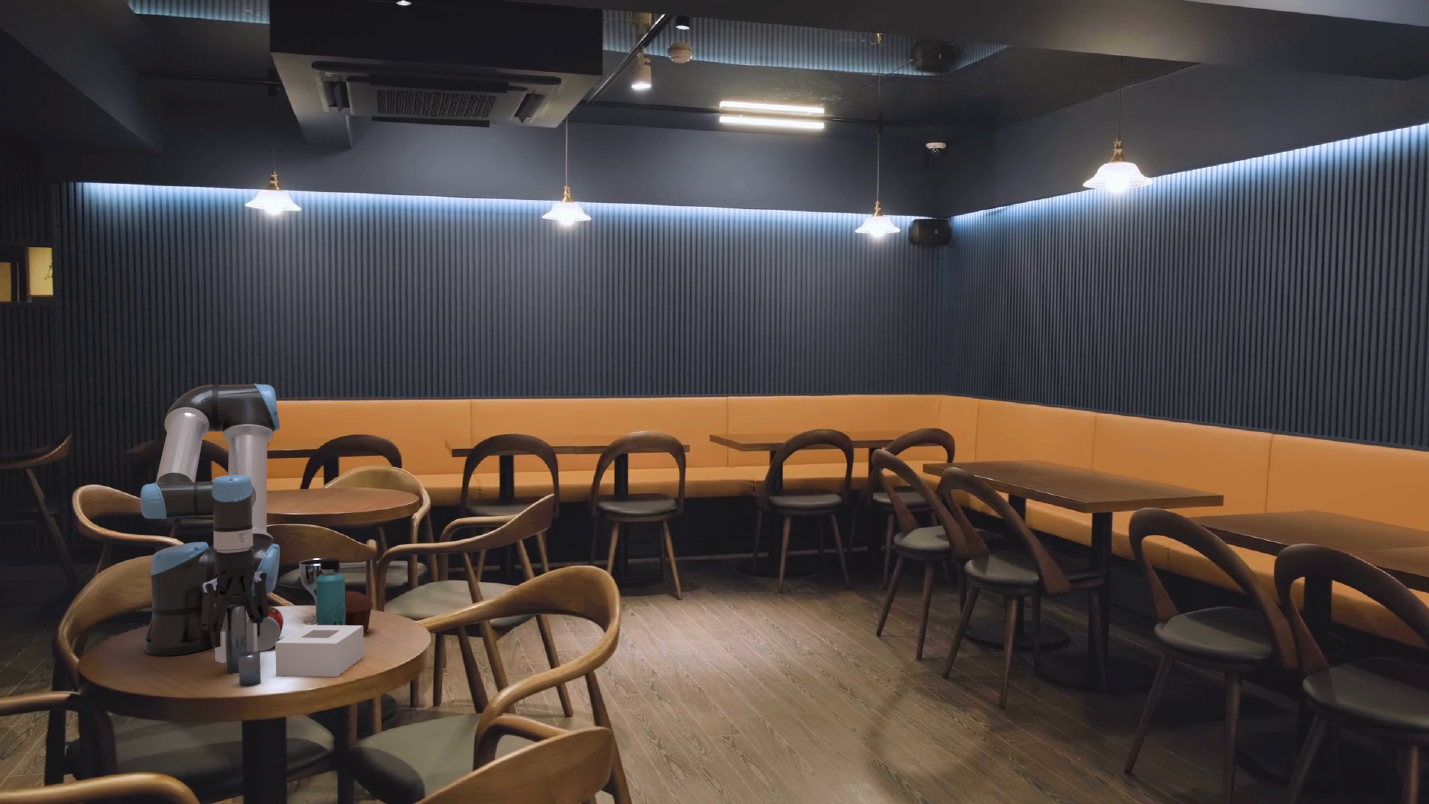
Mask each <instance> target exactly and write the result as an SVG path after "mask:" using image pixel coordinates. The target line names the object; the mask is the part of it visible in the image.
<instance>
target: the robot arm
mask: <svg viewBox="0 0 1429 804" xmlns="http://www.w3.org/2000/svg"><path fill="white" fill-rule="evenodd" d="M276 397H277V396H276V392H275V388H274V387H273V386H271V385H270V384H257V383H252V384H205V385H201V386H197V387H194V388H192V389H190V390H189V391H187V392H186V393H183V395H181V396H180V397H179V398H177V399H176V401H175V402H173V404H172V405H171V406H170V408H168V411H167V413H166V415H165V419H164V429H165V431H166V436H165V440H164V441H165V442H164V445H163V449H162V455H161V457H160V458H161V459H160V463H159V466H158V467H159V468H158V472H157V476H156V480H155V482H153V483H148V484H145V485H143V486H142V488H141V490H140V491H141V492H140V511H141V514H142V516H143V517H144V518H145V519H156V520H157V519H161V520H165V519H177V518H178V519H179V518H181V519H182V518H192V517H193V518H195V517H213V548H210V547H209V545H208V543H207V542H205V541H200V542H199V541H196V542H188V543H183V544H178V545H173V546H169V547H166V548H163V549H161V550H159V551H157V552H155V553H154V554H153V556H152V558H151V565H150V568H151V569H150V573H149V574H150V578H151V603H152V604H151V606H152V615H151V616H152V617H151V620H150V623H149V625H148V629H147V633H146V635H145V640H144V652H145V654H148V655H152V656H166V657H167V656H181V655H187V654H194V653H197V652H198V653H199V652H202V651H206V650H209V649H211V648H214V659H215V660H214V661H215V662H218V663H221V664H225V663H226V631H225V630H223V629H222V628H223V626H224V623H225V615H226V612H227V608H228V605H229V604H230V602H231V600H232V598H241V600H242V603H243V604H246V615H247V616H248V620H249V619H250V621H251V622H248V621H246V635H247V652H259V651H258V649H257V637H259V636H260V623H262V622H263V619H264V618H267V617H268V616H269V612H268V606H269V605H268V596H267V595H269V594H271V593H272V592H273V591H274V590H275V588H276V585H277V580H278V576H279V575H278V574H279V568H280V558H281V557H280V556H281V547H280V544H276V543H274V537H273V536H272V535H271V534H270V533H268V532H267V529H268V527H267V523H268V519H267V518H268V517H267V516H268V515H267V513H268V512H267V511H268V509H267V507H268V504H267V503H268V497H267V496H268V485H267V484H268V443H269V442H270V441H271V440H272V439H273V438H274V436H275V432H277V431H278V430H280V429H281V425H280V417H279V412H278V404H277V398H276ZM210 432H214V433H215V432H218V433H219V432H222V438H223V439H224V440H225V441H226V442H228V471H227V473H228V475H222V476H216V477H215V478H214V479H213V480H212V481H211V480H210V481H196V479H197V478H196V477H197V471H198V465H199V460H200V455H201V450H202V449H201V448H202V443H203V438H204V437H205V436H207V435H208V433H210ZM216 599H217V600H216Z"/></svg>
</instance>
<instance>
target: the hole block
mask: <svg viewBox="0 0 1429 804" xmlns="http://www.w3.org/2000/svg"><path fill="white" fill-rule="evenodd" d="M364 638H365V637H364V636H363V626H351V625H317V624H305V625H304V626H302V627H300V628H298V629H296V630H294V631H293V632H292V633H290V634H288V635H286V636H284V637H283V638H281V639H279V640H278V642H276V643H275V645H274V647H275V676H276V677H315V678H316V677H322V678H323V677H326V678H329V677H330V678H331V677H332V678H334V677H335V678H337V677H339V676H341V675H342V674H343V673H344V672H346V671H347V670H348V669H350V668H351V667H352V666H354V665H355V664H356V663H358V662H359V661H360V660H362V659H364V656H365V645H364V644H365V641H364ZM361 658H362V659H361ZM357 661H358V662H357ZM353 664H354V665H353ZM349 667H350V668H349ZM345 670H346V671H345ZM341 673H342V674H341Z"/></svg>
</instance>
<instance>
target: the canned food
mask: <svg viewBox="0 0 1429 804" xmlns="http://www.w3.org/2000/svg"><path fill="white" fill-rule="evenodd" d="M268 612H269V616H268V617H267V618H264V619H263V622H262V623H260V636H259V637H257V649H258V652H266V651H268V650H270V649H272V648H273V647H275V643H276V642H278V641H279V640H280V638H281V634H282V630H283V626H284V618H283V615H282V613H281V612H280V610H279V609H277V608H275V607H273V606H269V605H268ZM247 622H251V621H250V619H249V618H248V620H247Z"/></svg>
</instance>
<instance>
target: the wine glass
mask: <svg viewBox="0 0 1429 804" xmlns="http://www.w3.org/2000/svg"><path fill="white" fill-rule="evenodd" d="M323 559H328V558H327V557H326V558H325V557H324V558H310V559H304V560H302V561H299V575H300V580H301V583H302V586H303V587H304V588H305V589H306V590H307V591H308V592H309V593H310V594H311V595H312V597H313V599H314V604H315V615H314V616H313V617H309V618H306V619H304V620H303V621H302V623H303V624H305V623H314V624H313V625H316V624H315V623H317V620H316V618H317V614H316V613H317V584H316V579H317V578H318V577H319V576H320V575H321V574H323V573H327V572H334V569H331V570H323V569H321V560H323Z"/></svg>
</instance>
